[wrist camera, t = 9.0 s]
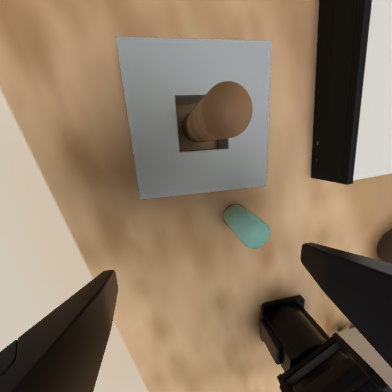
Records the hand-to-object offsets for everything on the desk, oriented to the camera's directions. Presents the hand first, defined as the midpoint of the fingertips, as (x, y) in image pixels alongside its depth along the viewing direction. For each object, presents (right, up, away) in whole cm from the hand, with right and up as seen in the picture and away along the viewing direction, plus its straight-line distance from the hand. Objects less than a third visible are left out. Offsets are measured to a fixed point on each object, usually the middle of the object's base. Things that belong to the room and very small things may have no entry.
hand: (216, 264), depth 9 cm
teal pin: (+4, +1, +13) cm, 14 cm away
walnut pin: (-1, +10, +10) cm, 14 cm away
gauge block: (-1, +10, +10) cm, 14 cm away
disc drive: (+23, +16, +13) cm, 31 cm away
